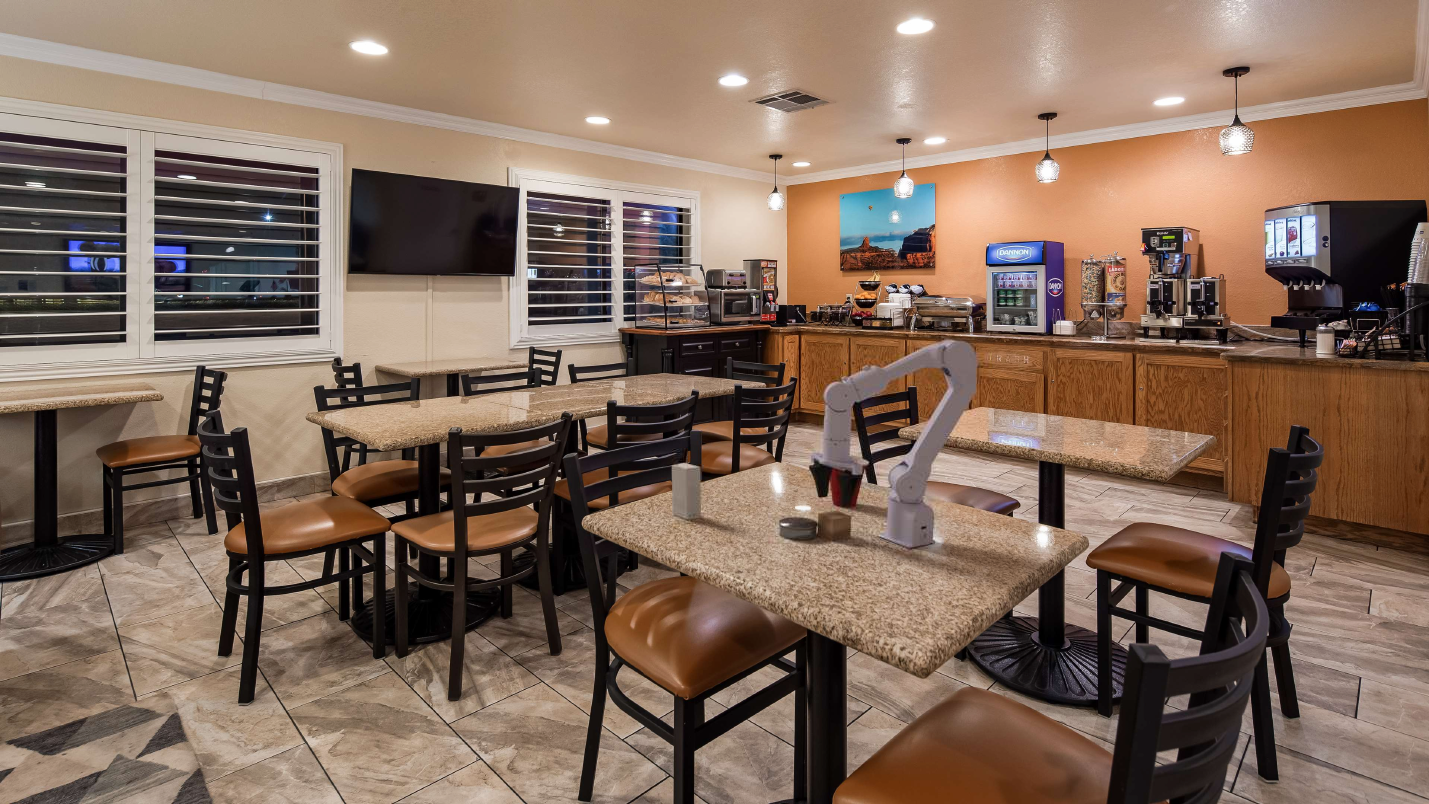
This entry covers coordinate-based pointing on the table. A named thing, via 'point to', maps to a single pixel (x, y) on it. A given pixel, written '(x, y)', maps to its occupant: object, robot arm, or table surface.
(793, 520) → the grey metal cylinder
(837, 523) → the walnut block
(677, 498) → the skincare box
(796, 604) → the table surface
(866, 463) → the plastic cup
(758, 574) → the table surface
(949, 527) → the table surface
